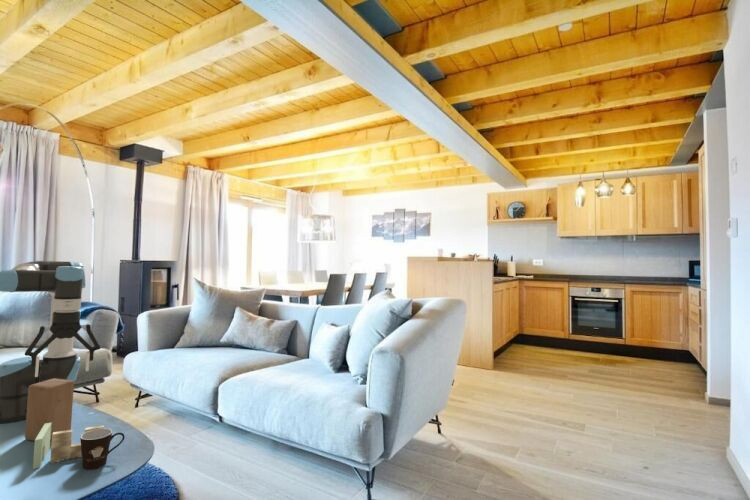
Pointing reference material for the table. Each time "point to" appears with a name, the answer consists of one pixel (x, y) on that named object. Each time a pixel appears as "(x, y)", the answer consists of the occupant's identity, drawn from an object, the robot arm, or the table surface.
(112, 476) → the table surface
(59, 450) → the birch board
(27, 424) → the wooden block
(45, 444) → the sage board
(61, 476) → the table surface
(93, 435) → the coffee mug
